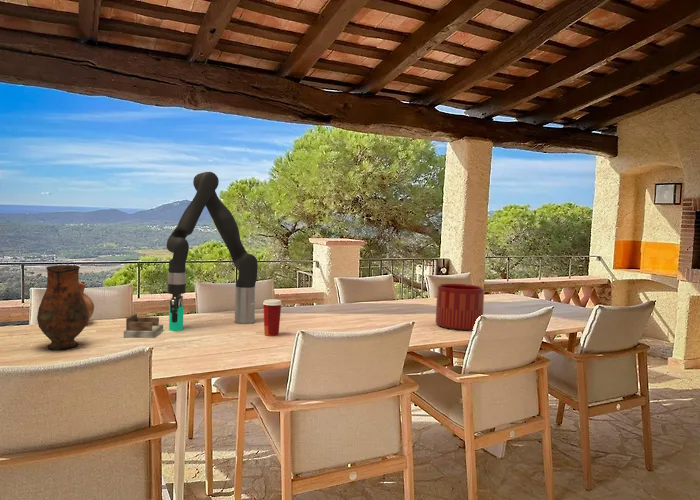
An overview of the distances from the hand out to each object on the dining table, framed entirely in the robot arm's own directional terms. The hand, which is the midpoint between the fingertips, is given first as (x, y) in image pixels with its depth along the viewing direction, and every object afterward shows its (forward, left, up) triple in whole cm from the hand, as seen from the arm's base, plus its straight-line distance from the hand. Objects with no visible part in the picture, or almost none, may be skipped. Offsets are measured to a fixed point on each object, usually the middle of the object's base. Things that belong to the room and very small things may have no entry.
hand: (176, 320), depth 221 cm
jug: (+47, -7, -4) cm, 48 cm away
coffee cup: (-42, +8, -4) cm, 43 cm away
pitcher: (+34, +29, -4) cm, 45 cm away
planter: (-134, -15, -4) cm, 135 cm away
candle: (0, 0, -4) cm, 4 cm away
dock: (+11, +9, -4) cm, 15 cm away
